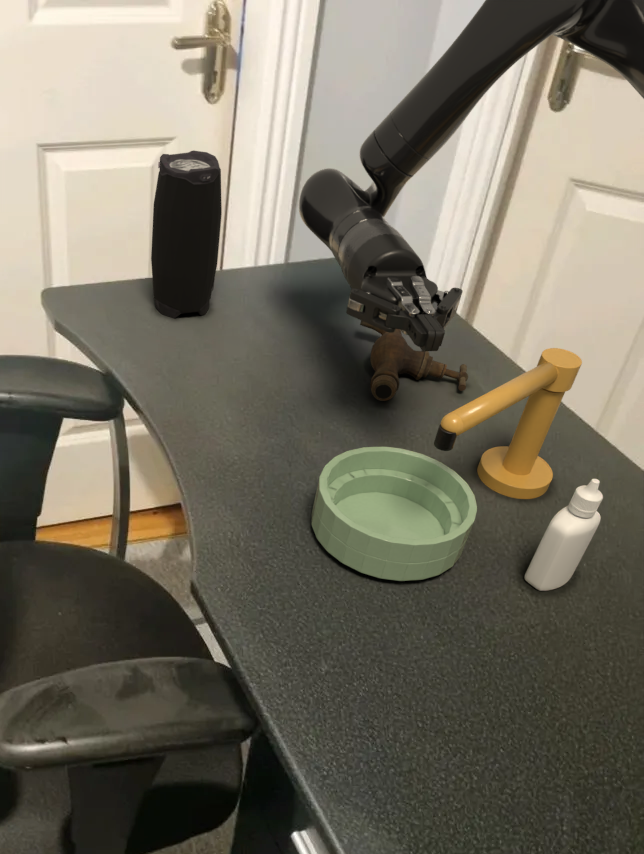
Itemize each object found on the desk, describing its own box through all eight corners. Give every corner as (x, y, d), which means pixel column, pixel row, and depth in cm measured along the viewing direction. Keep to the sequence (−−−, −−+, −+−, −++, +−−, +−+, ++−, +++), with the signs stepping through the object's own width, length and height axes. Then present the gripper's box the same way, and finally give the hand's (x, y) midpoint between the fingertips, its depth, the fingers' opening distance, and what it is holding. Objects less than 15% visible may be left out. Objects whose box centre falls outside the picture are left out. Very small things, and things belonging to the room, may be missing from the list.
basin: (429, 484, 95) (443, 443, 91) (484, 581, 84) (502, 539, 80) (294, 491, 92) (302, 449, 89) (333, 591, 82) (344, 548, 78)
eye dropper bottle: (513, 562, 87) (556, 466, 78) (565, 561, 87) (613, 466, 79) (529, 592, 83) (576, 496, 75) (583, 591, 84) (635, 495, 76)
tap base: (529, 455, 100) (568, 364, 92) (560, 497, 95) (604, 404, 86) (466, 458, 99) (499, 365, 91) (493, 501, 94) (532, 406, 85)
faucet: (354, 365, 103) (474, 400, 102) (368, 298, 114) (476, 330, 114) (342, 397, 106) (457, 431, 106) (357, 329, 118) (462, 360, 117)
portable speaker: (138, 309, 119) (141, 160, 106) (174, 286, 125) (181, 142, 111) (190, 328, 117) (200, 177, 103) (224, 303, 122) (238, 158, 109)
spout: (544, 371, 91) (555, 344, 88) (577, 388, 89) (589, 360, 86) (420, 438, 80) (429, 409, 78) (454, 459, 78) (465, 429, 76)
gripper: (328, 232, 92) (378, 307, 80) (443, 232, 94) (508, 305, 82) (317, 298, 97) (361, 378, 85) (426, 297, 99) (484, 375, 87)
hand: (433, 342), depth 84 cm, fingers closed
